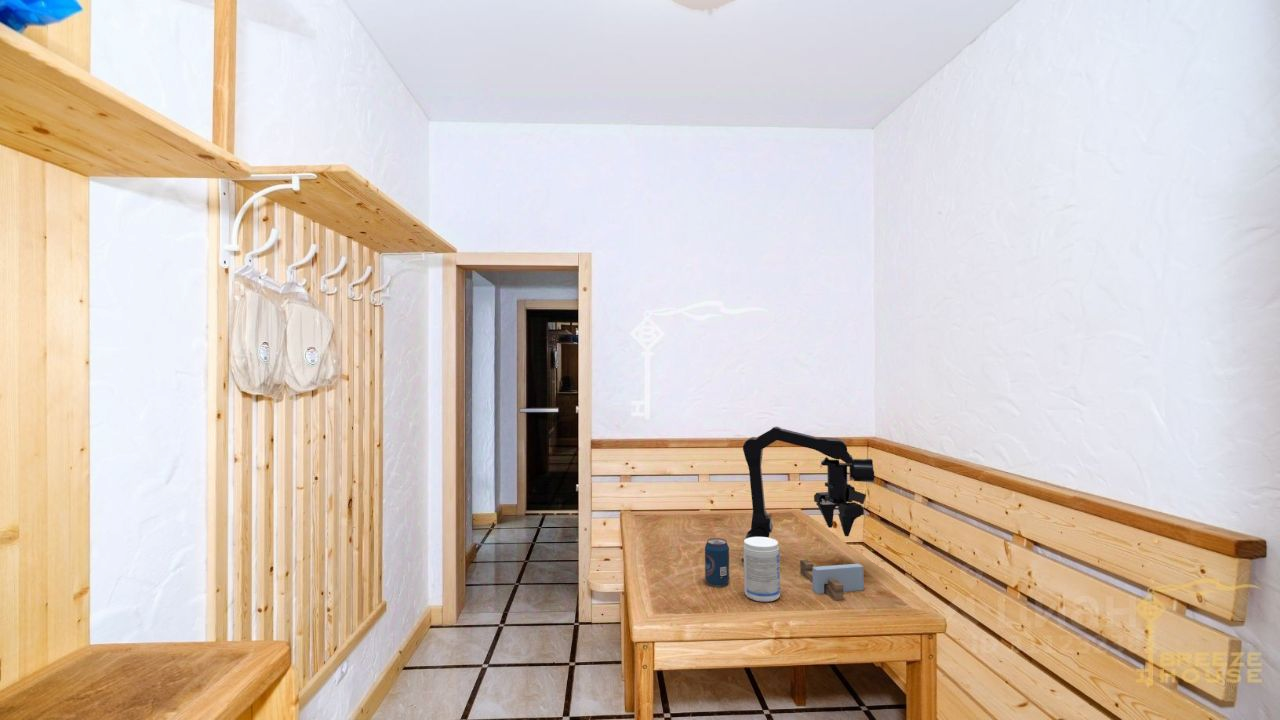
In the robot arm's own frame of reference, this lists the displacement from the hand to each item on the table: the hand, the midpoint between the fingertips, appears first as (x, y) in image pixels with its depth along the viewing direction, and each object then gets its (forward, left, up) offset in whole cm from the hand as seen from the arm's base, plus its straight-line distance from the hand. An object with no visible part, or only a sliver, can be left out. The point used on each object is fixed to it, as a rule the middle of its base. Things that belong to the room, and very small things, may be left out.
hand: (838, 531), depth 165 cm
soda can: (-39, -1, -12) cm, 41 cm away
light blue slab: (-8, -13, -12) cm, 19 cm away
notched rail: (-11, -9, -12) cm, 19 cm away
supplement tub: (-30, -12, -12) cm, 35 cm away
